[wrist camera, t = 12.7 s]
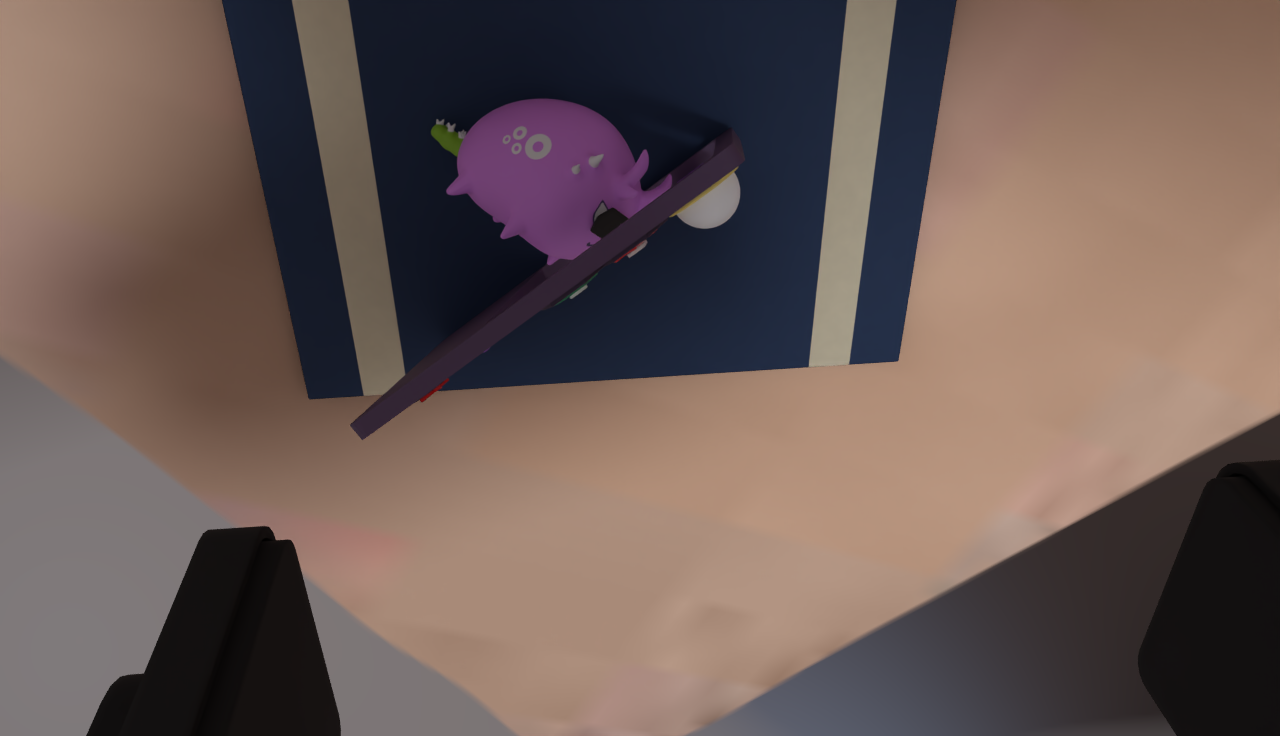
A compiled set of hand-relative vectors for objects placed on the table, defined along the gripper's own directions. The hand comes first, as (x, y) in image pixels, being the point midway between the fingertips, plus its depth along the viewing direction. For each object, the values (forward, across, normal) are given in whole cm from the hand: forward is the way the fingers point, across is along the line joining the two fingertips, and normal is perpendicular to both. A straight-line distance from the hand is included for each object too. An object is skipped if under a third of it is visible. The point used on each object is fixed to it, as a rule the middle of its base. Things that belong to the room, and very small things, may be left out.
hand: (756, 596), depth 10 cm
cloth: (+15, +1, +1) cm, 15 cm away
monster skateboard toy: (+15, +2, +1) cm, 15 cm away
